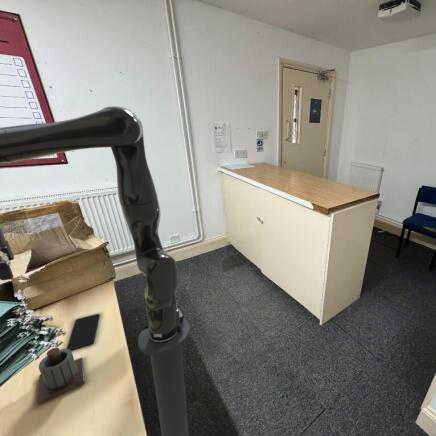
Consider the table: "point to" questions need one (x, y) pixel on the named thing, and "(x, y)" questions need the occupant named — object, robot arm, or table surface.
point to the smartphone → (83, 332)
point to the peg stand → (48, 394)
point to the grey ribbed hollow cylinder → (58, 370)
